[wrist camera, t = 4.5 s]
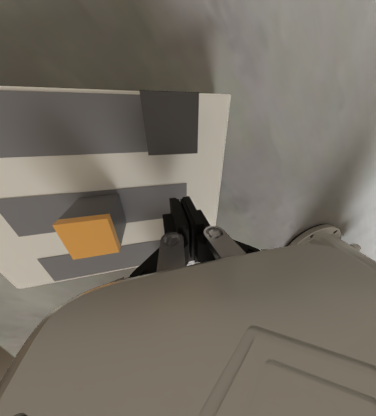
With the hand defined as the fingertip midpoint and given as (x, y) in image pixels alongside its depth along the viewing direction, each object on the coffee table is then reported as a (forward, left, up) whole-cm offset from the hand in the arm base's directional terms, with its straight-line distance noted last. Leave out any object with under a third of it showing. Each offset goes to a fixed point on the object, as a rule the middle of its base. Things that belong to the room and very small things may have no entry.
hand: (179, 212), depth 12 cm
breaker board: (+6, 0, -5) cm, 8 cm away
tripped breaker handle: (+6, 0, -2) cm, 7 cm away
